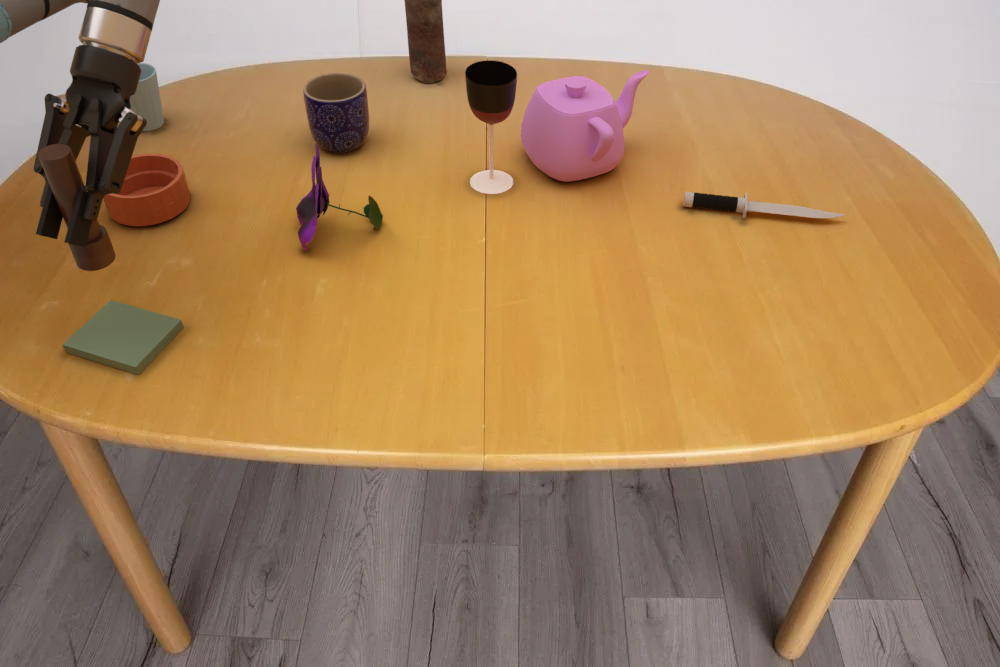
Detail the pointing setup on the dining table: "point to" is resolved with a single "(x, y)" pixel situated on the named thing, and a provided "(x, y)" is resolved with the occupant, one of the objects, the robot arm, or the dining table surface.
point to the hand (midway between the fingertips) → (60, 240)
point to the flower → (325, 206)
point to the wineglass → (491, 113)
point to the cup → (148, 98)
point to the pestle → (65, 190)
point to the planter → (337, 111)
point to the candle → (426, 39)
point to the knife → (750, 206)
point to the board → (123, 336)
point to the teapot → (577, 126)
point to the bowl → (150, 191)
